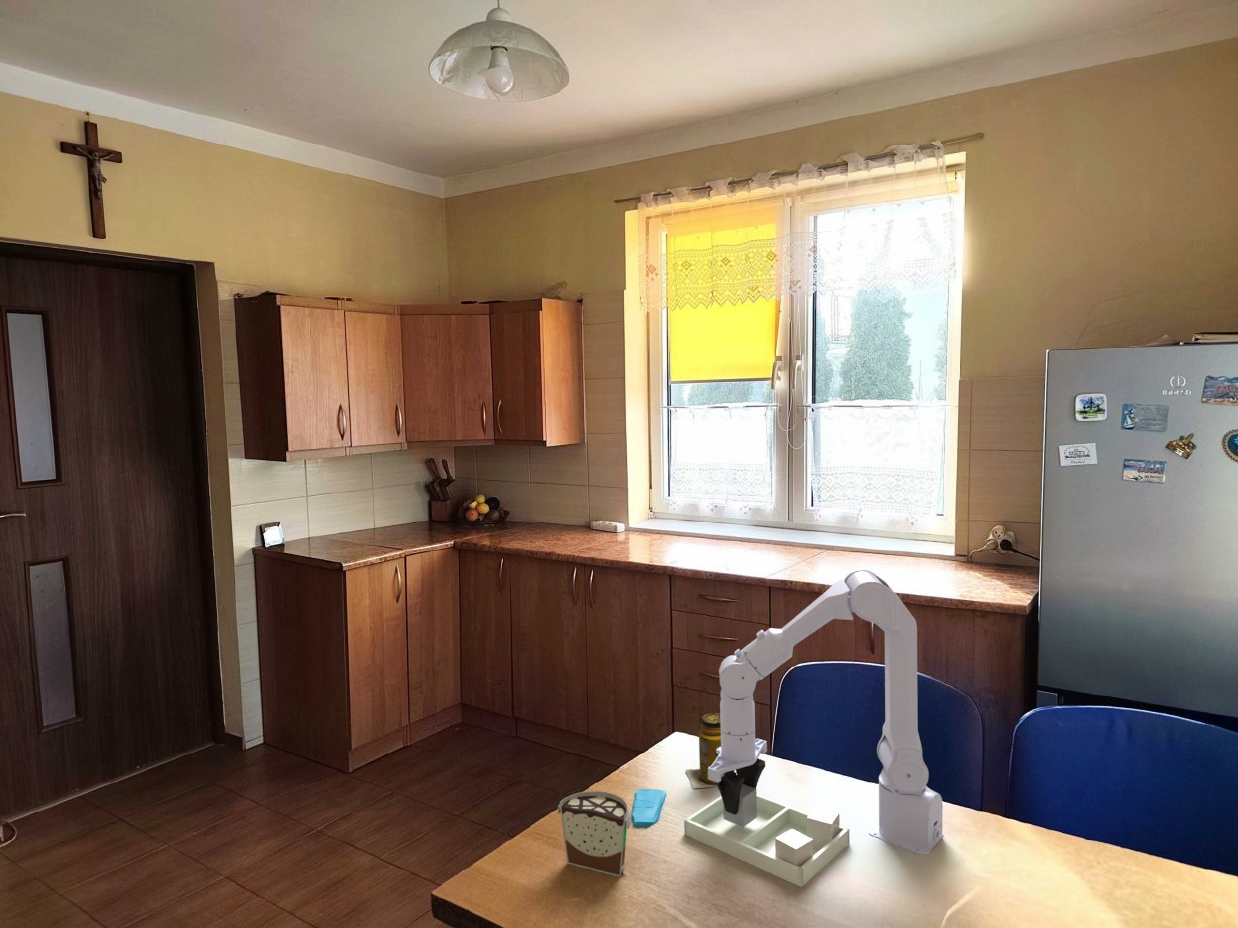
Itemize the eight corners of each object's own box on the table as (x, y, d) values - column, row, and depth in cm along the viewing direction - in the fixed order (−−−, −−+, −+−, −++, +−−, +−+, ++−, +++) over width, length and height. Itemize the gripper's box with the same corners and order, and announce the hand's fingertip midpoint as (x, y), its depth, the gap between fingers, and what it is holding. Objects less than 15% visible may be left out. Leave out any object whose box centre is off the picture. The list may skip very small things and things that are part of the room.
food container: (645, 857, 127) (643, 797, 126) (629, 879, 121) (627, 816, 120) (577, 841, 132) (575, 783, 131) (559, 861, 126) (556, 801, 125)
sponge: (622, 821, 137) (655, 820, 135) (635, 787, 148) (666, 786, 147) (623, 829, 137) (656, 829, 135) (637, 795, 148) (667, 794, 147)
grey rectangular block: (756, 817, 134) (756, 788, 134) (743, 827, 131) (742, 797, 131) (737, 809, 137) (736, 781, 136) (723, 818, 134) (723, 790, 133)
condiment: (737, 785, 149) (736, 723, 148) (693, 789, 148) (692, 727, 147) (727, 767, 157) (726, 708, 156) (685, 771, 156) (683, 712, 155)
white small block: (839, 842, 128) (839, 812, 128) (831, 854, 125) (831, 823, 125) (815, 835, 131) (815, 806, 130) (807, 847, 127) (806, 817, 127)
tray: (849, 846, 128) (849, 828, 128) (801, 889, 117) (801, 870, 117) (736, 802, 143) (736, 786, 143) (684, 837, 132) (684, 819, 132)
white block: (813, 870, 121) (812, 839, 121) (796, 881, 119) (796, 849, 118) (792, 859, 124) (791, 828, 124) (775, 869, 122) (775, 837, 121)
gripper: (742, 709, 141) (743, 783, 142) (692, 736, 130) (694, 815, 131) (776, 719, 136) (777, 795, 137) (727, 748, 125) (729, 830, 127)
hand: (739, 806), depth 134 cm, fingers closed on grey rectangular block, 4 cm apart
